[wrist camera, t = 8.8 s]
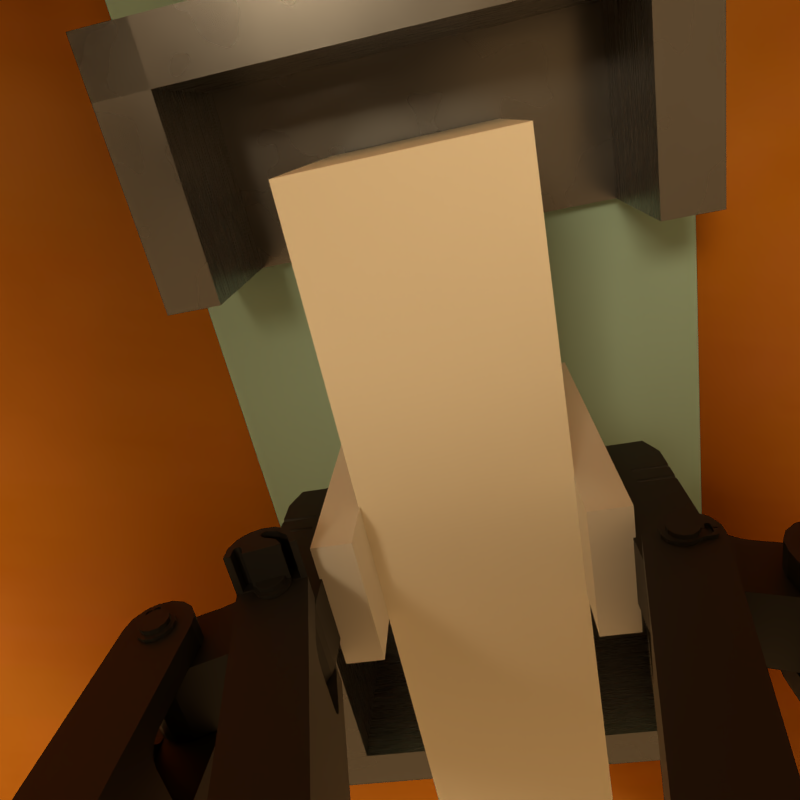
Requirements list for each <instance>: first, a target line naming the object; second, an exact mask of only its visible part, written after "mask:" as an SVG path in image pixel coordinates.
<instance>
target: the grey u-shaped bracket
mask: <svg viewBox="0 0 800 800" xmlns="http://www.w3.org/2000/svg"><path fill="white" fill-rule="evenodd" d="M66 34H67V37H68V40H69V42H70V45H71V48H72V51H73V54H74V56H75V59H76V62H77V65H78V67H79V70H80V73H81V76H82V78H83V81H84V84H85V87H86V90H87V92H88V95H89V98H90V101H91V103H92V106H93V109H94V112H95V115H96V117H97V120H98V123H99V126H100V128H101V131H102V134H103V137H104V139H105V142H106V145H107V148H108V151H109V153H110V156H111V159H112V162H113V164H114V167H115V170H116V173H117V176H118V178H119V181H120V184H121V187H122V189H123V192H124V195H125V198H126V200H127V203H128V206H129V209H130V212H131V214H132V217H133V220H134V223H135V225H136V228H137V231H138V234H139V237H140V239H141V242H142V245H143V248H144V250H145V253H146V256H147V259H148V261H149V264H150V267H151V270H152V273H153V275H154V278H155V281H156V284H157V286H158V289H159V292H160V295H161V298H162V300H163V303H164V306H165V309H166V311H167V314H168V315H173V314H178V313H183V312H189V311H194V310H199V309H204V308H210V307H215V306H220V305H222V304H223V303H224V302H225V301H226V300H227V299H228V298H230V297H231V296H232V295H233V294H234V293H235V292H236V291H237V290H239V289H240V288H241V287H242V286H243V285H244V284H245V283H246V282H248V281H249V280H250V279H251V278H252V277H253V276H254V275H255V274H256V273H258V272H259V271H260V270H261V269H262V268H265V267H270V266H275V265H280V264H285V263H290V262H291V260H290V256H289V252H288V249H287V245H286V241H285V238H284V234H283V230H282V227H281V223H280V219H279V216H278V212H277V209H276V205H275V201H274V198H273V194H272V190H271V187H270V183H269V179H271V178H274V177H276V176H279V175H282V174H284V173H287V172H290V171H292V170H295V169H298V168H301V167H303V166H306V165H309V164H311V163H314V162H317V161H319V160H322V159H325V158H327V157H330V156H334V155H339V154H343V153H348V152H352V151H356V150H361V149H365V148H370V147H374V146H379V145H383V144H388V143H392V142H397V141H401V140H406V139H410V138H414V137H419V136H423V135H428V134H432V133H437V132H441V131H446V130H450V129H455V128H459V127H464V126H468V125H472V124H477V123H481V122H486V121H490V120H495V119H499V118H500V119H515V120H530V121H533V127H534V136H535V144H536V153H537V161H538V170H539V178H540V187H541V195H542V204H543V212H549V211H554V210H559V209H564V208H569V207H575V206H580V205H585V204H590V203H595V202H600V201H605V200H610V199H615V198H617V199H618V200H620V201H622V202H624V203H626V204H628V205H630V206H632V207H634V208H636V209H638V210H640V211H642V212H644V213H645V214H647V215H649V216H651V217H653V218H655V219H657V220H659V221H666V220H672V219H677V218H682V217H687V216H693V215H698V214H703V213H708V212H714V211H719V210H724V209H726V0H187V1H183V2H179V3H175V4H171V5H168V6H164V7H160V8H156V9H152V10H148V11H145V12H141V13H137V14H133V15H129V16H125V17H122V18H118V19H114V20H110V21H106V22H102V23H99V24H95V25H91V26H87V27H83V28H79V29H76V30H72V31H68V32H66Z"/></svg>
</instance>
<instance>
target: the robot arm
mask: <svg viewBox="0 0 800 800" xmlns="http://www.w3.org/2000/svg"><path fill="white" fill-rule="evenodd" d="M561 365H562V373H563V382H564V390H565V399H566V407H567V415H568V424H569V432H570V441H571V449H572V458H573V466H574V475H575V476H574V482H575V491H576V500H577V509H578V518H579V527H580V536H581V545H582V553H583V562H584V571H585V580H586V589H587V596H588V599H589V602H590V606H591V609H592V613H593V616H594V619H595V623H596V626H597V629H598V633H599V636H600V637H602V636H611V635H620V634H630V633H639V632H643V631H642V616H641V612H642V615H643V617H644V620H645V622H646V625H647V627H648V641H649V656H650V671H651V682H652V684H653V693H654V703H655V713H656V723H657V733H658V743H659V753H660V762H661V772H662V782H663V792H664V800H800V776H799V773H798V769H797V766H796V763H795V759H794V756H793V753H792V749H791V746H790V743H789V739H788V736H787V733H786V729H785V726H784V723H783V719H782V716H781V712H780V709H779V706H778V702H777V699H776V696H775V692H774V689H773V686H772V682H771V679H770V676H769V672H768V669H767V668H771V669H778V670H781V672H782V674H783V676H784V678H785V679H786V681H787V682H788V684H789V686H790V687H791V689H792V690H793V692H794V693H795V695H796V696H797V698H798V699H799V701H800V522H797V523H794V524H793V525H792V526H791V527H789V528H788V529H787V530H786V531H785V535H784V539H783V543H779V542H766V541H754V540H747V539H740V538H737V537H733V536H729V535H727V532H726V531H725V529H724V528H723V526H722V525H721V524H720V523H719V522H717V521H716V520H714V519H713V518H711V517H709V516H706V515H703V514H700V513H699V512H698V510H697V509H696V507H695V506H694V504H693V503H692V501H691V499H690V498H689V496H688V495H687V493H686V492H685V490H684V488H683V487H682V485H681V484H680V482H679V481H678V479H677V478H675V474H674V473H673V471H672V469H671V468H670V467H669V466H668V463H667V462H666V460H665V458H664V457H663V455H662V454H661V452H660V451H659V450H657V449H656V448H654V447H652V446H651V445H649V444H647V443H645V442H644V441H636V442H630V443H623V444H616V445H609V446H605V445H604V443H603V441H602V439H601V437H600V435H599V433H598V431H597V428H596V426H595V424H594V422H593V420H592V418H591V416H590V414H589V412H588V410H587V408H586V406H585V404H584V401H583V399H582V397H581V395H580V393H579V391H578V389H577V387H576V385H575V383H574V381H573V379H572V377H571V374H570V372H569V370H568V368H567V366H566V364H565V363H561ZM223 560H224V562H225V565H226V568H227V570H228V573H229V575H230V578H231V581H232V583H233V586H234V588H235V591H236V594H237V598H236V602H235V603H233V604H230V605H228V606H226V607H223V608H221V609H218V610H215V611H212V612H209V613H207V614H204V615H201V616H198V617H196V615H195V613H194V611H193V608H192V606H191V605H189V604H187V603H185V602H180V601H171V602H166V603H162V604H158V605H156V606H153V607H151V608H149V609H147V610H145V611H144V612H143V613H141V614H140V615H138V616H137V617H136V618H134V619H133V620H132V621H131V622H130V623H129V624H128V626H127V627H126V628H125V629H124V630H123V632H122V633H121V635H120V636H119V638H118V639H117V641H116V642H115V644H114V645H113V647H112V648H111V650H110V651H109V653H108V654H107V656H106V657H105V659H104V660H103V662H102V664H101V665H100V667H99V668H98V670H97V671H96V673H95V674H94V676H93V677H92V679H91V680H90V682H89V683H88V685H87V686H86V688H85V689H84V691H83V692H82V694H81V695H80V697H79V699H78V700H77V702H76V703H75V705H74V706H73V708H72V709H71V711H70V712H69V714H68V715H67V717H66V718H65V720H64V721H63V723H62V724H61V726H60V727H59V729H58V731H57V732H56V734H55V735H54V737H53V738H52V740H51V741H50V743H49V744H48V746H47V747H46V749H45V750H44V752H43V753H42V755H41V756H40V758H39V759H38V761H37V762H36V764H35V766H34V767H33V769H32V770H31V772H30V773H29V775H28V776H27V778H26V779H25V781H24V782H23V784H22V785H21V787H20V788H19V790H18V791H17V793H16V794H15V796H14V798H13V799H12V800H350V788H349V774H348V760H347V746H346V732H345V718H344V704H343V690H342V680H341V677H340V674H339V671H338V668H337V665H336V660H337V655H338V649H339V644H340V646H341V649H342V652H343V655H344V658H345V661H346V664H349V663H359V662H368V661H377V660H385V653H386V643H387V634H388V624H389V615H388V611H387V607H386V604H385V600H384V596H383V593H382V589H381V585H380V581H379V578H378V574H377V570H376V566H375V563H374V559H373V555H372V551H371V548H370V544H369V540H368V537H367V533H366V529H365V525H364V522H363V518H362V514H361V510H360V507H358V504H357V500H356V496H355V493H354V489H353V485H352V482H351V478H350V474H349V471H348V467H347V463H346V460H345V456H344V453H343V449H342V445H341V448H340V451H339V454H338V457H337V461H336V464H335V467H334V471H333V474H332V477H331V481H330V484H329V487H328V488H326V489H319V490H312V491H305V492H302V493H301V494H300V495H299V496H298V497H297V498H296V499H295V500H294V501H293V502H292V503H291V504H290V505H289V508H288V510H287V513H286V515H285V518H284V522H283V523H282V526H281V528H280V527H270V528H263V529H260V530H257V531H254V532H251V533H249V534H247V535H245V536H244V537H242V538H240V539H239V540H237V541H236V542H235V543H234V544H233V545H232V546H231V547H229V548H228V549H227V551H226V554H225V556H224V558H223Z"/></svg>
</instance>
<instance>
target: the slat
mask: <svg viewBox="0 0 800 800" xmlns="http://www.w3.org/2000/svg"><path fill="white" fill-rule="evenodd" d="M269 183H270V187H271V190H272V194H273V198H274V201H275V205H276V209H277V212H278V216H279V219H280V223H281V227H282V230H283V234H284V238H285V241H286V245H287V249H288V252H289V256H290V260H291V263H292V267H293V270H294V274H295V278H296V281H297V285H298V289H299V292H300V296H301V300H302V303H303V307H304V311H305V314H306V318H307V321H308V325H309V329H310V332H311V336H312V340H313V343H314V347H315V351H316V354H317V358H318V361H319V365H320V369H321V372H322V376H323V380H324V383H325V387H326V391H327V394H328V398H329V402H330V405H331V409H332V412H333V416H334V420H335V423H336V427H337V431H338V434H339V438H340V442H341V445H342V449H343V453H344V456H345V460H346V463H347V467H348V471H349V474H350V478H351V482H352V485H353V489H354V493H355V496H356V500H357V504H358V507H360V510H361V514H362V518H363V522H364V525H365V529H366V533H367V537H368V540H369V544H370V548H371V551H372V555H373V559H374V563H375V566H376V570H377V574H378V578H379V581H380V585H381V589H382V593H383V596H384V600H385V604H386V607H387V611H388V615H389V620H390V624H391V627H392V631H393V635H394V638H395V642H396V646H397V649H398V653H399V657H400V660H401V664H402V667H403V671H404V675H405V678H406V682H407V686H408V689H409V693H410V697H411V700H412V704H413V708H414V711H415V715H416V718H417V722H418V726H419V729H420V733H421V737H422V740H423V744H424V748H425V751H426V755H427V759H428V762H429V766H430V769H431V773H432V777H433V780H434V784H435V788H436V791H437V795H438V799H439V800H613V797H612V789H611V780H610V772H609V763H608V755H607V746H606V738H605V729H604V721H603V712H602V704H601V695H600V687H599V678H598V670H597V661H596V653H595V644H594V636H593V627H592V619H591V611H590V602H589V599H588V596H587V589H586V580H585V571H584V562H583V553H582V545H581V536H580V527H579V518H578V509H577V500H576V491H575V482H574V476H575V475H574V466H573V458H572V449H571V441H570V432H569V424H568V415H567V407H566V399H565V390H564V382H563V373H562V365H561V356H560V348H559V339H558V331H557V322H556V314H555V305H554V297H553V288H552V280H551V271H550V263H549V254H548V246H547V237H546V229H545V220H544V212H543V204H542V195H541V187H540V178H539V170H538V161H537V153H536V144H535V136H534V127H533V121H530V120H515V119H500V118H499V119H495V120H490V121H486V122H481V123H477V124H472V125H468V126H464V127H459V128H455V129H450V130H446V131H441V132H437V133H432V134H428V135H423V136H419V137H414V138H410V139H406V140H401V141H397V142H392V143H388V144H383V145H379V146H374V147H370V148H365V149H361V150H356V151H352V152H348V153H343V154H339V155H334V156H330V157H327V158H325V159H322V160H319V161H317V162H314V163H311V164H309V165H306V166H303V167H301V168H298V169H295V170H292V171H290V172H287V173H284V174H282V175H279V176H276V177H274V178H271V179H269Z"/></svg>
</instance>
